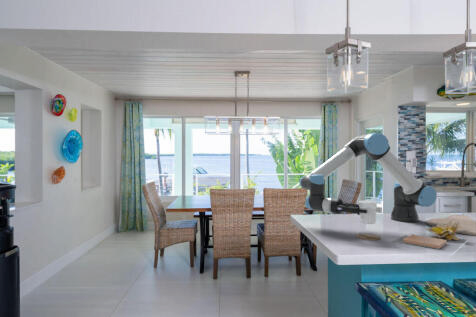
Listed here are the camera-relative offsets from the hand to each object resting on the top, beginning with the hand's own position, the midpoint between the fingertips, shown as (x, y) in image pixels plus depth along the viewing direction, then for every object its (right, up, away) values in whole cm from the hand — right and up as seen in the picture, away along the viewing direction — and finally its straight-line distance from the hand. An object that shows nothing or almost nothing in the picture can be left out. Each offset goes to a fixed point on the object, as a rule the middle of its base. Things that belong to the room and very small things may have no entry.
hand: (378, 211), depth 146 cm
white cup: (-3, -6, +3) cm, 8 cm away
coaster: (-3, -13, +4) cm, 14 cm away
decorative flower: (+32, -14, +3) cm, 35 cm away
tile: (+12, -12, -2) cm, 18 cm away
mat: (+16, -13, -5) cm, 22 cm away
